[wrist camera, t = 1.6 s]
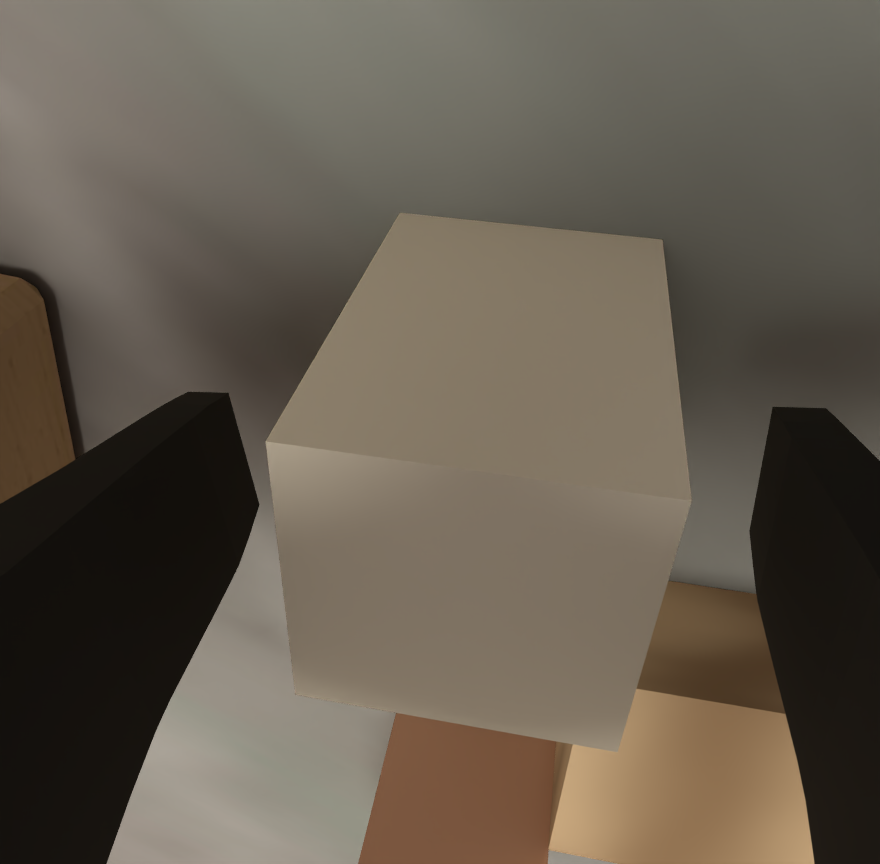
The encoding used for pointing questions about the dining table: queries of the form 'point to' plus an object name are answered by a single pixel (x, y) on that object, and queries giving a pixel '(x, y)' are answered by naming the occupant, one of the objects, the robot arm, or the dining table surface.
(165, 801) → the dining table surface
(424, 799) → the terracotta cube
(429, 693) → the cream cube
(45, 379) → the decorative block
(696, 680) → the oak block
